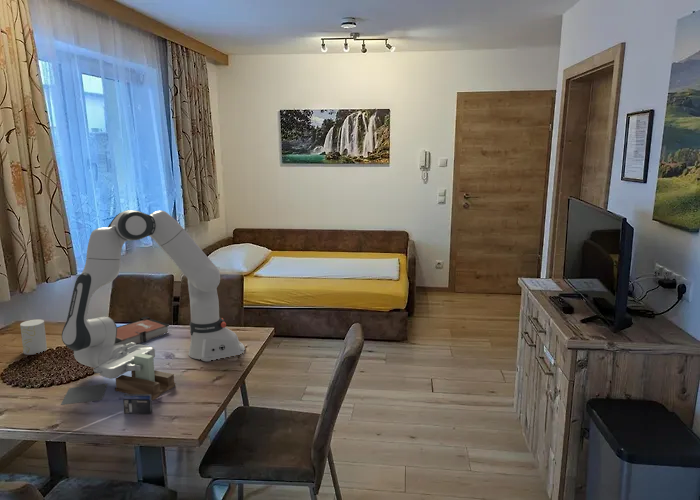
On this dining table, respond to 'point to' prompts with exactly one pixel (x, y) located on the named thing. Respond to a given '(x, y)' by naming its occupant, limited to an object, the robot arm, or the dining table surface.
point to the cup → (33, 336)
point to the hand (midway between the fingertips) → (146, 365)
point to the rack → (145, 384)
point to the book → (140, 331)
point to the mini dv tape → (137, 403)
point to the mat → (84, 394)
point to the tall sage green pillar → (145, 367)
